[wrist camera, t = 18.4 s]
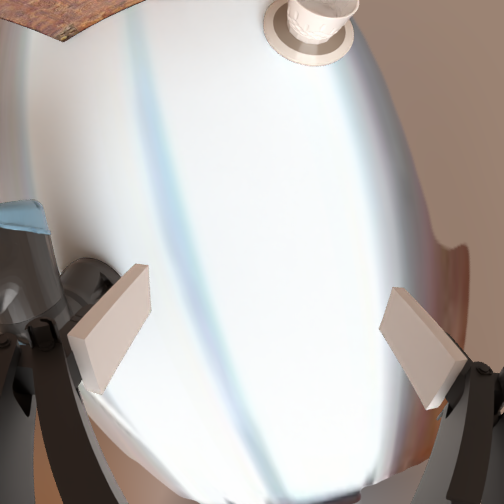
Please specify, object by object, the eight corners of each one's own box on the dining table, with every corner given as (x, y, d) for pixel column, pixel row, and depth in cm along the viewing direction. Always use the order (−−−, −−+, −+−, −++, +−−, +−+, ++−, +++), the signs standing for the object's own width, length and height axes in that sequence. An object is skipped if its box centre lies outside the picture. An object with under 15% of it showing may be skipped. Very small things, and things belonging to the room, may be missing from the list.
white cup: (344, 46, 30) (368, 19, 20) (290, 51, 31) (301, 20, 21) (328, 4, 27) (346, -29, 18) (276, 8, 28) (281, -29, 19)
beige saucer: (259, 59, 32) (259, 56, 31) (267, -7, 28) (267, -12, 27) (349, 74, 33) (353, 71, 31) (350, 7, 28) (353, 3, 27)
